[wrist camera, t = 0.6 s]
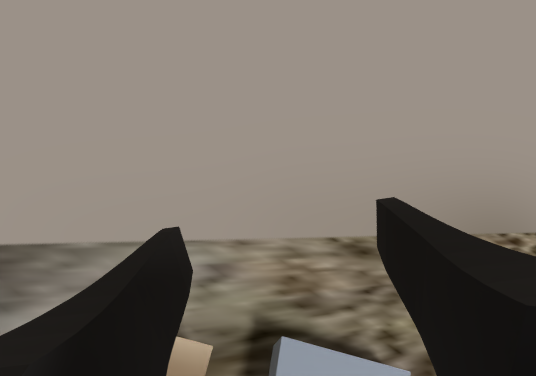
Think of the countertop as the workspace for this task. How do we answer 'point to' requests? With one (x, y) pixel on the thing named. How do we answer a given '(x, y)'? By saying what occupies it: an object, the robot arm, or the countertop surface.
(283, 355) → the slate-blue block
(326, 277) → the countertop surface
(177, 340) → the maple cube
